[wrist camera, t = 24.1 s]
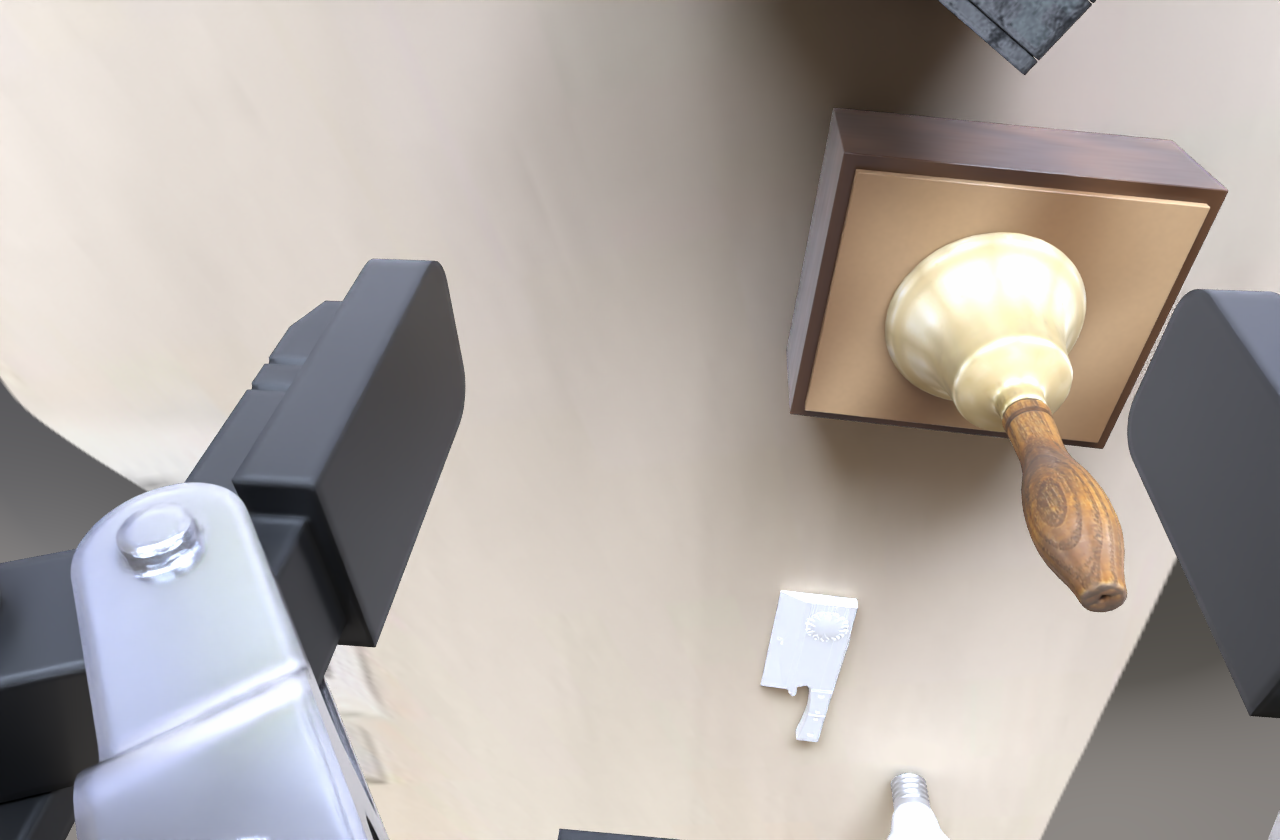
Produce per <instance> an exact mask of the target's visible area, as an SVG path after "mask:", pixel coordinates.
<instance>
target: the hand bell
mask: <svg viewBox="0 0 1280 840" xmlns="http://www.w3.org/2000/svg"><path fill="white" fill-rule="evenodd" d="M1086 302H1087V301H1086V292H1085V287H1084V283H1083V280H1082V278H1081V276H1080V274H1079V272H1078V270H1077V268H1076V267H1075V265H1074V264H1073V263H1072V261H1071V260H1070V259H1069V258H1068V257H1067V256H1066V255H1065V254H1064V253H1063V252H1062V251H1060V250H1059V249H1057V248H1056V247H1054V246H1053V245H1051V244H1049V243H1047V242H1045V241H1043V240H1041V239H1038V238H1036V237H1032V236H1028V235H1024V234H1019V233H1010V232H996V233H987V234H980V235H974V236H970V237H967V238H963V239H960V240H958V241H955V242H953V243H951V244H948V245H946V246H944V247H942V248H940V249H938V250H937V251H935V252H934V253H932V254H931V255H929V256H928V257H927V258H925V259H924V260H922V261H921V262H920V263H919V264H918V265H917V266H916V267H915V268H914V269H913V270H912V271H911V272H910V273H909V274H908V275H907V276H906V277H905V278H904V280H903V281H902V283H901V284H900V285H899V287H898V288H897V290H896V292H895V294H894V296H893V298H892V300H891V302H890V305H889V308H888V310H887V316H886V321H885V341H886V346H887V349H888V352H889V355H890V357H891V359H892V361H893V363H894V365H895V367H896V368H897V369H898V371H899V372H900V373H901V374H902V375H903V376H904V377H905V378H906V379H907V380H908V381H909V382H910V383H911V384H913V385H914V386H916V387H917V388H919V389H921V390H923V391H925V392H927V393H929V394H931V395H934V396H937V397H940V398H943V399H947V400H952V401H953V403H954V404H955V406H956V408H957V410H958V411H959V413H960V414H961V415H962V416H963V417H964V418H965V419H966V420H967V421H969V422H970V423H972V424H973V425H975V426H977V427H979V428H982V429H986V430H990V431H997V432H1006V433H1007V435H1008V437H1009V439H1010V441H1011V443H1012V445H1013V447H1014V449H1015V452H1016V454H1017V456H1018V458H1019V460H1020V463H1021V467H1022V473H1023V476H1022V487H1021V493H1022V506H1023V512H1024V517H1025V521H1026V524H1027V528H1028V530H1029V533H1030V536H1031V539H1032V541H1033V543H1034V545H1035V547H1036V549H1037V551H1038V553H1039V554H1040V556H1041V557H1042V559H1043V560H1044V562H1045V563H1046V564H1047V566H1048V567H1049V568H1050V569H1051V570H1052V571H1053V572H1054V573H1055V574H1056V575H1057V577H1058V578H1060V579H1061V580H1062V581H1063V582H1064V583H1065V584H1066V585H1067V586H1068V587H1069V588H1070V590H1071V591H1072V592H1073V593H1074V594H1075V596H1076V597H1077V599H1078V600H1079V602H1080V603H1081V604H1082V606H1083V607H1084V608H1086V609H1087V610H1090V611H1093V612H1107V611H1111V610H1114V609H1116V608H1118V607H1119V606H1121V605H1122V604H1123V603H1124V601H1125V600H1126V598H1127V589H1126V585H1125V577H1124V555H1125V550H1124V540H1123V533H1122V529H1121V526H1120V523H1119V520H1118V517H1117V515H1116V513H1115V511H1114V509H1113V507H1112V505H1111V503H1110V501H1109V499H1108V497H1107V496H1106V494H1105V492H1104V491H1103V489H1102V488H1101V487H1100V485H1099V484H1098V483H1097V481H1096V480H1095V479H1094V478H1093V477H1092V476H1091V475H1090V473H1089V472H1088V471H1087V470H1086V469H1085V468H1084V467H1082V466H1081V465H1080V464H1079V463H1078V462H1076V461H1075V460H1074V459H1073V458H1072V457H1071V456H1070V454H1069V453H1068V452H1067V450H1066V449H1065V447H1064V444H1063V442H1062V439H1061V437H1060V434H1059V432H1058V429H1057V426H1056V424H1055V422H1054V420H1053V415H1052V414H1053V413H1054V412H1056V411H1057V410H1058V408H1059V407H1060V406H1061V405H1062V404H1063V402H1064V401H1065V399H1066V398H1067V396H1068V394H1069V391H1070V388H1071V384H1072V379H1073V370H1072V366H1071V362H1070V360H1069V357H1068V354H1069V352H1070V351H1071V350H1072V348H1073V346H1074V345H1075V343H1076V341H1077V339H1078V337H1079V334H1080V332H1081V329H1082V326H1083V323H1084V319H1085V314H1086Z"/></svg>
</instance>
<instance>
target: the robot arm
mask: <svg viewBox="0 0 1280 840" xmlns="http://www.w3.org/2000/svg"><path fill="white" fill-rule="evenodd" d="M464 401H465V372H464V366H463V361H462V355H461V350H460V345H459V340H458V335H457V330H456V324H455V319H454V314H453V309H452V304H451V299H450V293H449V288H448V283H447V279H446V275H445V272H444V270H443V267H442V266H441V264H440V263H439V262H437V261H425V260H396V259H371V260H369V261H368V262H367V263H366V265H365V266H364V268H363V269H362V271H361V272H360V274H359V276H358V277H357V279H356V280H355V282H354V284H353V285H352V287H351V288H350V290H349V292H348V293H347V295H346V296H345V298H344V300H343V301H324V302H323V303H322V304H320V305H319V306H318V307H316V308H315V309H313V310H312V311H311V312H309V313H308V314H307V315H305V316H304V317H302V318H301V319H300V320H298V321H297V322H296V323H294V324H293V325H291V326H290V327H289V329H288V330H287V332H286V333H285V335H284V336H283V337H282V339H281V340H280V342H279V343H278V345H277V346H276V348H275V349H274V351H273V352H272V354H271V355H270V357H269V364H264V366H263V367H262V369H261V370H260V371H259V373H258V374H257V376H256V377H255V379H254V380H253V382H252V390H247V391H246V392H245V394H244V395H243V397H242V398H241V400H240V401H239V403H238V404H237V406H236V407H235V408H234V410H233V411H232V413H231V414H230V416H229V417H228V419H227V420H226V422H225V423H224V425H223V426H222V428H221V429H220V431H219V432H218V434H217V435H216V437H215V438H214V440H213V441H212V442H211V444H210V445H209V447H208V448H207V450H206V451H205V453H204V454H203V456H202V457H201V459H200V460H199V462H198V463H197V465H196V466H195V468H194V469H193V471H192V472H191V474H190V475H189V477H188V478H187V479H186V481H185V482H184V483H179V484H173V485H169V486H164V487H160V488H157V489H154V490H151V491H148V492H145V493H143V494H141V495H138V496H136V497H134V498H132V499H130V500H128V501H126V502H125V503H123V504H121V505H119V506H118V507H116V508H115V509H113V510H112V511H110V512H109V513H108V514H106V515H105V516H104V517H103V518H101V519H100V520H99V521H98V522H97V523H96V524H95V525H94V526H93V527H92V528H91V529H90V530H89V531H88V532H87V533H86V535H85V536H84V538H83V539H82V540H81V542H80V544H79V545H78V547H77V549H73V550H68V551H63V552H58V553H53V554H47V555H41V556H36V557H31V558H26V559H20V560H15V561H10V562H5V563H0V840H65V839H66V837H67V835H68V833H69V831H70V830H71V828H72V825H73V824H74V822H75V824H76V831H77V839H78V840H390V839H389V837H388V835H387V832H386V830H385V827H384V825H383V822H382V820H381V817H380V815H379V812H378V810H377V807H376V804H375V802H374V799H373V797H372V794H371V792H370V789H369V787H368V784H367V782H366V779H365V777H364V774H363V772H362V769H361V767H360V764H359V761H358V759H357V756H356V754H355V751H354V749H353V746H352V744H351V741H350V739H349V736H348V734H347V731H346V729H345V726H344V724H343V721H342V718H341V716H340V713H339V711H338V708H337V706H336V703H335V701H334V698H333V696H332V693H331V691H330V688H329V686H328V683H327V681H326V679H325V677H324V675H325V672H326V670H327V668H328V665H329V663H330V660H331V658H332V656H333V653H334V651H335V648H336V646H337V645H350V646H364V647H376V644H377V642H378V639H379V636H380V634H381V631H382V629H383V626H384V623H385V621H386V618H387V615H388V613H389V610H390V607H391V605H392V602H393V599H394V597H395V594H396V591H397V589H398V586H399V583H400V581H401V578H402V575H403V573H404V570H405V567H406V565H407V562H408V560H409V557H410V554H411V552H412V549H413V546H414V544H415V541H416V538H417V536H418V533H419V530H420V528H421V525H422V522H423V520H424V517H425V514H426V512H427V509H428V506H429V504H430V501H431V498H432V496H433V493H434V491H435V488H436V485H437V483H438V480H439V477H440V475H441V472H442V469H443V467H444V464H445V461H446V459H447V456H448V453H449V451H450V448H451V445H452V443H453V440H454V437H455V435H456V432H457V429H458V427H459V424H460V421H461V418H462V414H463V409H464ZM1127 436H1128V446H1129V450H1130V454H1131V457H1132V460H1133V462H1134V464H1135V466H1136V468H1137V471H1138V473H1139V475H1140V477H1141V479H1142V482H1143V484H1144V486H1145V488H1146V490H1147V493H1148V495H1149V497H1150V499H1151V501H1152V503H1153V506H1154V508H1155V510H1156V512H1157V514H1158V517H1159V519H1160V521H1161V523H1162V525H1163V527H1164V530H1165V532H1166V534H1167V536H1168V538H1169V541H1170V543H1171V545H1172V547H1173V549H1174V552H1175V554H1176V556H1177V558H1178V560H1179V562H1180V565H1181V567H1182V569H1183V571H1184V573H1185V576H1186V578H1187V580H1188V582H1189V584H1190V586H1191V589H1192V591H1193V593H1194V595H1195V597H1196V599H1197V601H1198V604H1199V606H1200V608H1201V611H1202V613H1203V615H1204V617H1205V619H1206V621H1207V624H1208V626H1209V628H1210V630H1211V632H1212V635H1213V637H1214V639H1215V641H1216V643H1217V646H1218V648H1219V650H1220V652H1221V654H1222V656H1223V659H1224V660H1225V663H1226V665H1227V667H1228V669H1229V672H1230V674H1231V676H1232V678H1233V680H1234V683H1235V685H1236V687H1237V689H1238V691H1239V693H1240V696H1241V698H1242V700H1243V702H1244V704H1245V707H1246V709H1247V711H1248V713H1249V715H1250V716H1259V717H1272V718H1280V295H1279V294H1277V293H1274V292H1265V291H1236V290H1207V289H1195V290H1192V291H1190V292H1188V293H1187V294H1185V295H1184V296H1183V298H1182V299H1181V300H1180V301H1179V303H1178V304H1177V306H1176V308H1175V310H1174V312H1173V314H1172V316H1171V318H1170V321H1169V323H1168V325H1167V327H1166V329H1165V331H1164V334H1163V336H1162V338H1161V340H1160V342H1159V345H1158V347H1157V349H1156V351H1155V353H1154V356H1153V358H1152V360H1151V362H1150V364H1149V367H1148V369H1147V371H1146V373H1145V375H1144V377H1143V380H1142V382H1141V384H1140V386H1139V388H1138V391H1137V393H1136V395H1135V397H1134V400H1133V402H1132V405H1131V408H1130V412H1129V417H1128V427H1127ZM558 840H678V839H667V838H656V837H645V836H634V835H623V834H612V833H601V832H590V831H579V830H568V829H559V835H558ZM1268 840H1280V811H1279V813H1278V816H1277V818H1276V821H1275V823H1274V826H1273V828H1272V831H1271V833H1270V836H1269V838H1268Z"/></svg>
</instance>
